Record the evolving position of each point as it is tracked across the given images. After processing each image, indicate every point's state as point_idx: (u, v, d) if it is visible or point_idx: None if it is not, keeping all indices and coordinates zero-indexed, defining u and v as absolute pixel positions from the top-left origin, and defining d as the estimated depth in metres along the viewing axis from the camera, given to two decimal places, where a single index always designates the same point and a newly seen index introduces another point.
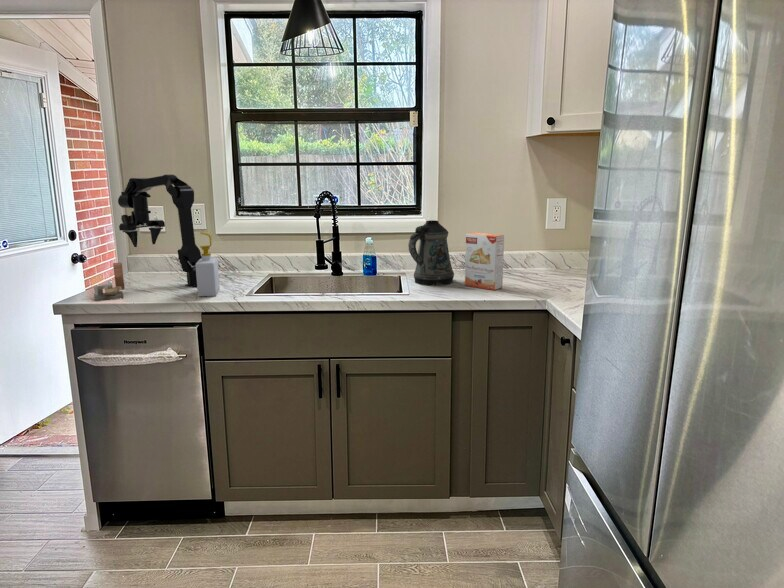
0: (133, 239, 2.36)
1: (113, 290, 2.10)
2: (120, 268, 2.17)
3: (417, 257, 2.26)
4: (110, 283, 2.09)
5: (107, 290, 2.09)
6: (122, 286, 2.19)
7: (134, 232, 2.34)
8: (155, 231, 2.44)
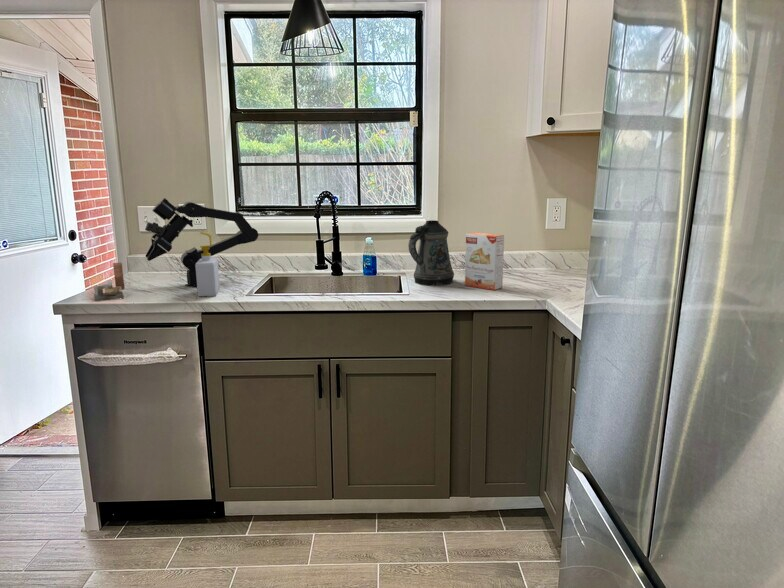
0: (155, 255, 2.18)
1: (113, 290, 2.10)
2: (120, 268, 2.17)
3: (417, 257, 2.26)
4: (110, 283, 2.09)
5: (107, 290, 2.09)
6: (122, 286, 2.19)
7: (165, 252, 2.19)
8: None
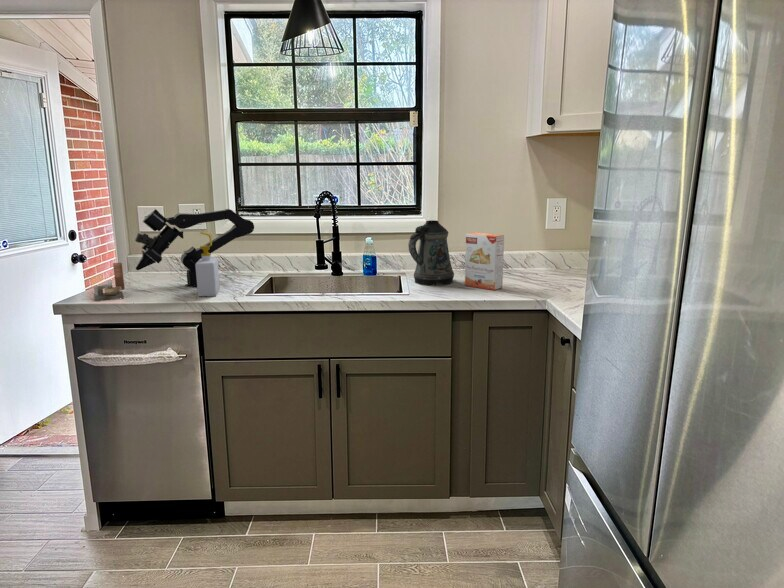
0: (144, 264, 2.21)
1: (113, 290, 2.10)
2: (120, 268, 2.17)
3: (417, 257, 2.26)
4: (110, 283, 2.09)
5: (107, 290, 2.09)
6: (122, 286, 2.19)
7: (154, 262, 2.21)
8: None
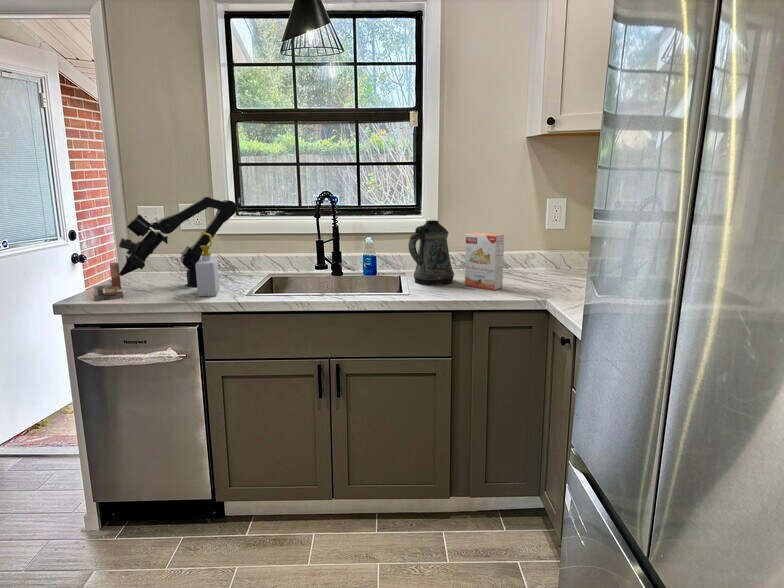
0: (128, 270, 2.19)
1: (114, 290, 2.10)
2: (117, 268, 2.17)
3: (417, 257, 2.26)
4: (110, 283, 2.09)
5: (108, 290, 2.09)
6: (119, 286, 2.19)
7: None
8: None
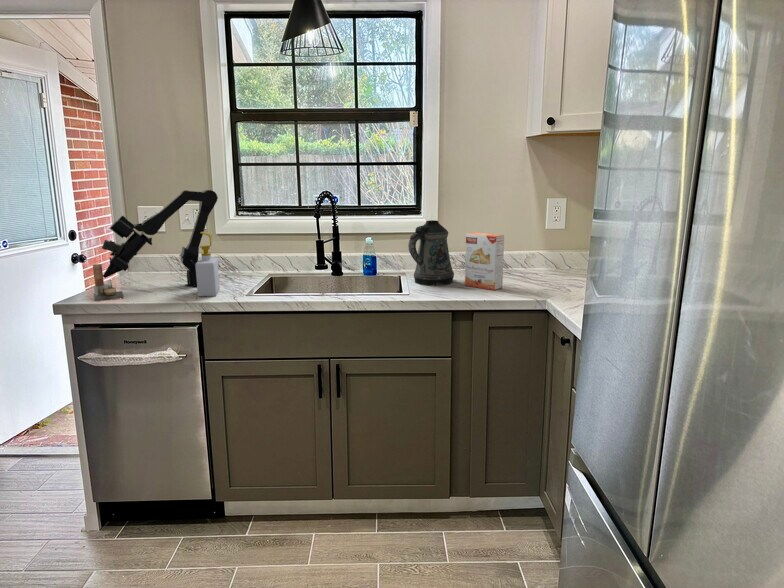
0: (111, 272, 2.16)
1: (115, 289, 2.11)
2: None
3: (417, 257, 2.26)
4: (110, 283, 2.09)
5: (111, 290, 2.09)
6: None
7: (122, 269, 2.17)
8: None
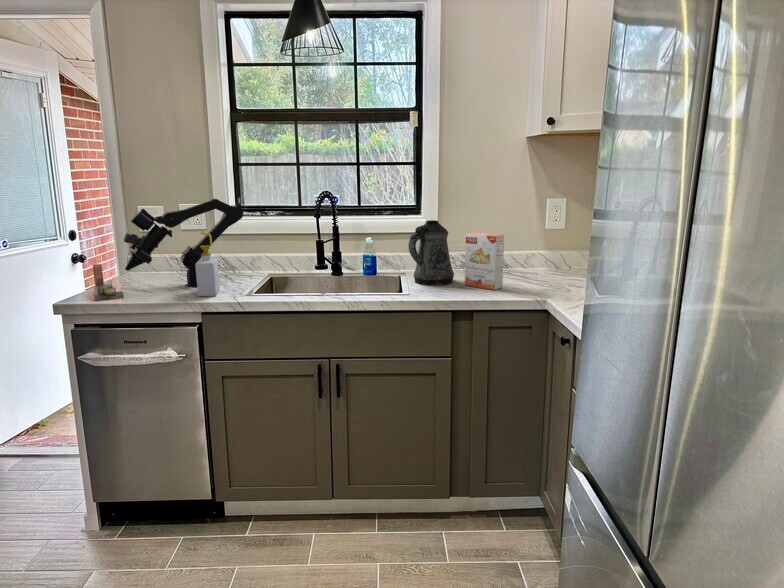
0: (133, 265, 2.19)
1: (115, 289, 2.11)
2: (101, 269, 2.15)
3: (417, 257, 2.26)
4: (110, 283, 2.09)
5: (111, 290, 2.09)
6: None
7: (144, 262, 2.20)
8: None
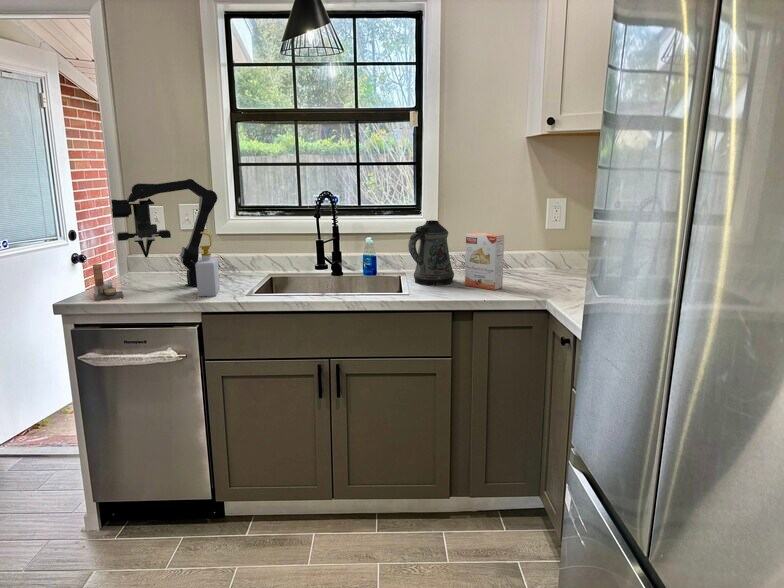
0: None
1: (115, 289, 2.11)
2: (101, 269, 2.15)
3: (417, 257, 2.26)
4: (110, 283, 2.09)
5: (111, 290, 2.09)
6: None
7: None
8: None
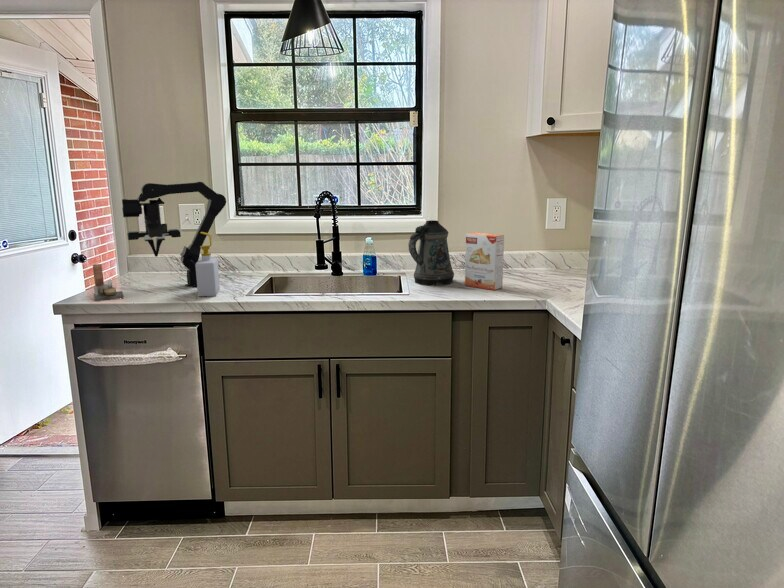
0: None
1: (115, 289, 2.11)
2: (101, 269, 2.15)
3: (417, 257, 2.26)
4: (110, 283, 2.09)
5: (111, 290, 2.09)
6: None
7: None
8: None
